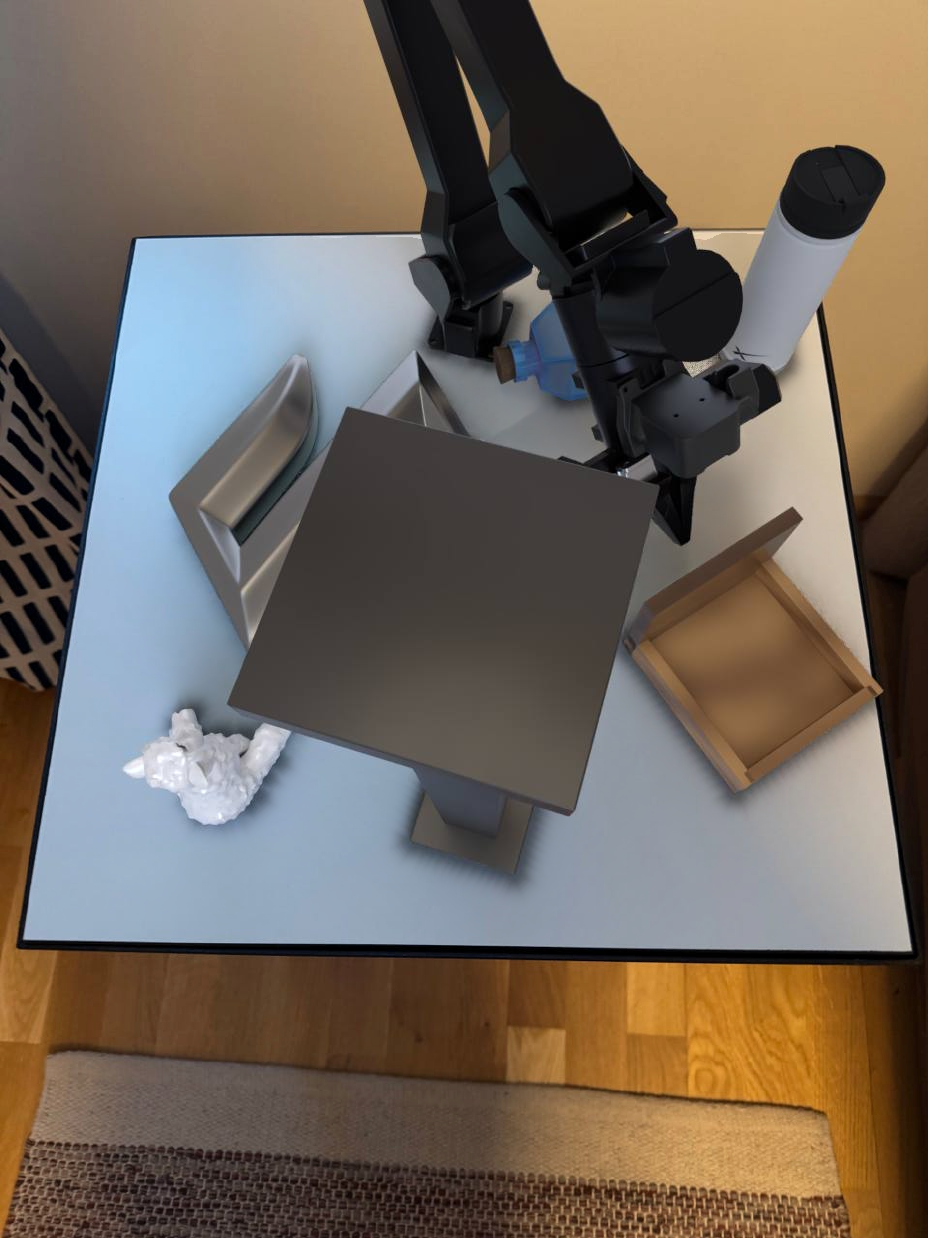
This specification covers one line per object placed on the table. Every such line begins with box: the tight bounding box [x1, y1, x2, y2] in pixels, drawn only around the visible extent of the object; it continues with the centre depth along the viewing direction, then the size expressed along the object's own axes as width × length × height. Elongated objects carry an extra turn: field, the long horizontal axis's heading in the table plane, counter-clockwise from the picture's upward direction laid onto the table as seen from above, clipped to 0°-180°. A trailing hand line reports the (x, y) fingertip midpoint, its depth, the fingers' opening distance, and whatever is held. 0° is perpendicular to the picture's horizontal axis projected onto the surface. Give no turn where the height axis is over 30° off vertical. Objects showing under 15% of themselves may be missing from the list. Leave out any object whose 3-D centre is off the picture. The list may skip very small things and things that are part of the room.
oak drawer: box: [622, 506, 884, 794], centre depth 61 cm, size 14×13×10 cm
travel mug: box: [718, 144, 887, 376], centre depth 65 cm, size 6×7×20 cm
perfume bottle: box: [492, 300, 588, 402], centre depth 72 cm, size 6×6×12 cm
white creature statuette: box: [122, 708, 293, 826], centre depth 59 cm, size 10×9×12 cm
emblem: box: [168, 349, 472, 653], centre depth 68 cm, size 28×5×28 cm
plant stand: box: [226, 405, 660, 876], centre depth 41 cm, size 8×8×46 cm
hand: (682, 542), depth 62 cm, fingers closed
